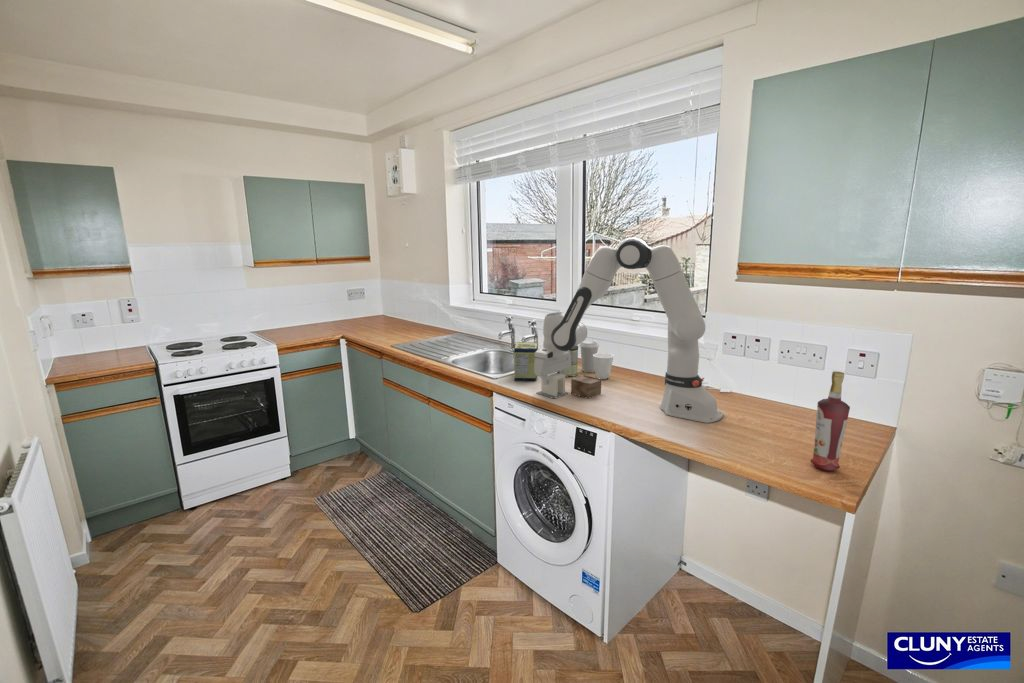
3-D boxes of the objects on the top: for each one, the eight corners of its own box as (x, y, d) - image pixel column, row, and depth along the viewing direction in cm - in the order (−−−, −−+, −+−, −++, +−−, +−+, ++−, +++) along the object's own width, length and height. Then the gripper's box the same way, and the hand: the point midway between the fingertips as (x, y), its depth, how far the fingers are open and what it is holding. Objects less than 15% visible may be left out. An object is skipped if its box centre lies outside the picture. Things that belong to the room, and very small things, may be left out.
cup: (615, 376, 221) (616, 354, 219) (610, 381, 213) (611, 358, 210) (594, 373, 225) (595, 352, 223) (589, 379, 217) (590, 356, 214)
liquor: (845, 475, 126) (861, 377, 120) (816, 473, 127) (830, 375, 121) (832, 463, 133) (846, 369, 127) (804, 461, 134) (817, 368, 128)
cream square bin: (550, 389, 201) (550, 371, 199) (564, 393, 195) (565, 375, 193) (541, 392, 197) (541, 374, 195) (555, 396, 191) (555, 377, 189)
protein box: (537, 372, 229) (537, 342, 225) (536, 381, 213) (536, 349, 210) (516, 372, 230) (516, 341, 226) (514, 381, 214) (513, 348, 211)
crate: (601, 393, 196) (601, 379, 194) (588, 398, 189) (588, 383, 188) (583, 388, 202) (584, 374, 201) (570, 393, 196) (571, 379, 194)
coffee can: (552, 374, 224) (553, 346, 221) (563, 370, 233) (563, 343, 230) (571, 378, 218) (572, 349, 216) (581, 373, 227) (582, 345, 224)
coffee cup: (586, 374, 224) (587, 344, 221) (575, 370, 233) (575, 341, 230) (602, 371, 229) (603, 342, 226) (589, 367, 237) (590, 339, 234)
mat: (569, 393, 196) (569, 392, 196) (554, 398, 189) (554, 398, 189) (551, 388, 203) (551, 387, 203) (536, 393, 196) (536, 392, 196)
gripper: (563, 345, 201) (563, 375, 204) (531, 353, 187) (531, 385, 190) (575, 347, 197) (574, 378, 200) (543, 355, 183) (542, 388, 186)
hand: (553, 382), depth 195 cm, fingers open, 8 cm apart
